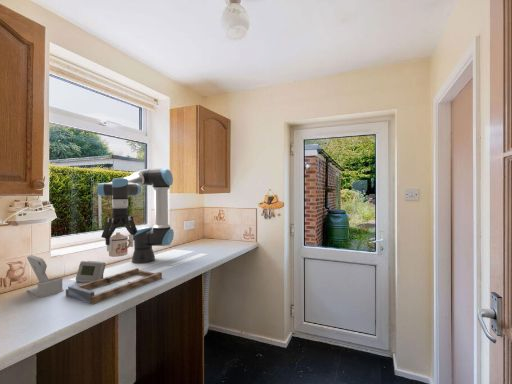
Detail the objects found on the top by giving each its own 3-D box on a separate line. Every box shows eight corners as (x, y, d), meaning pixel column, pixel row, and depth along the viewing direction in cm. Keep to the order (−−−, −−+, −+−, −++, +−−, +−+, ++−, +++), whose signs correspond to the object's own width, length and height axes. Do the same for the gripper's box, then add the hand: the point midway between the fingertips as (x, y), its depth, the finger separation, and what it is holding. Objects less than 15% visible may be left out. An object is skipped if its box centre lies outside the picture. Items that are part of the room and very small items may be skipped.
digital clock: (73, 282, 147) (73, 262, 147) (90, 277, 156) (89, 258, 155) (93, 286, 141) (93, 265, 141) (109, 280, 149) (108, 261, 149)
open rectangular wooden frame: (136, 272, 162) (136, 265, 162) (161, 277, 152) (161, 269, 152) (65, 295, 128) (65, 286, 128) (92, 304, 118) (92, 293, 118)
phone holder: (64, 291, 134) (64, 254, 134) (40, 298, 126) (39, 259, 125) (49, 284, 143) (49, 250, 143) (25, 290, 135) (25, 254, 135)
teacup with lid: (116, 257, 134) (116, 234, 134) (104, 256, 138) (104, 233, 138) (136, 252, 145) (136, 231, 145) (124, 251, 149) (124, 230, 149)
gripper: (102, 209, 129) (103, 254, 129) (144, 206, 150) (144, 245, 150) (93, 208, 132) (93, 252, 132) (135, 206, 154) (135, 244, 154)
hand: (120, 248), depth 141 cm, fingers closed on teacup with lid, 12 cm apart
